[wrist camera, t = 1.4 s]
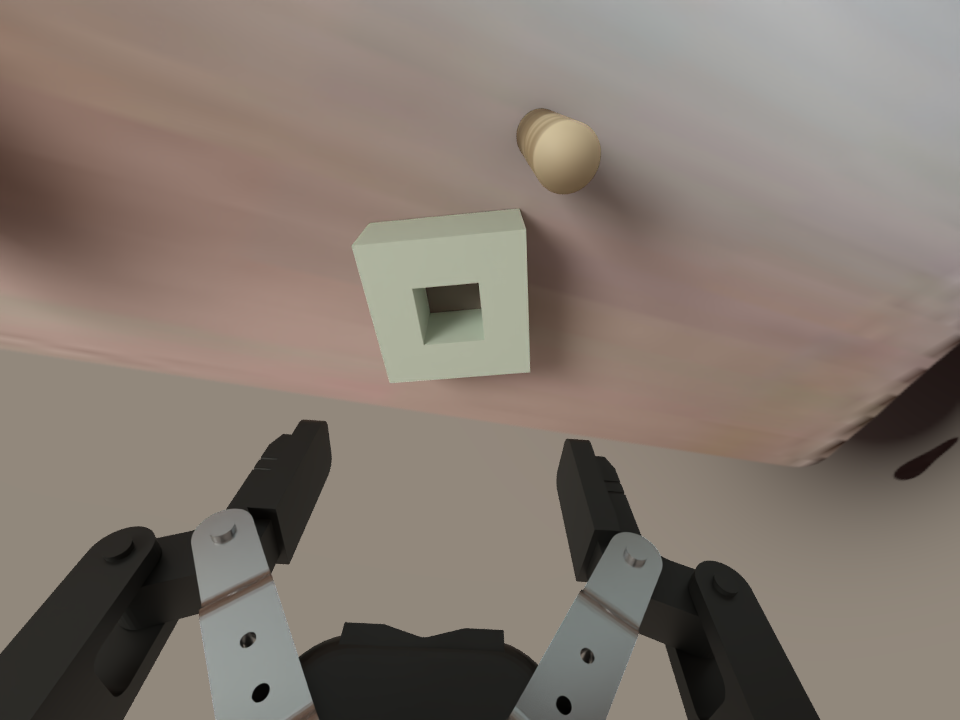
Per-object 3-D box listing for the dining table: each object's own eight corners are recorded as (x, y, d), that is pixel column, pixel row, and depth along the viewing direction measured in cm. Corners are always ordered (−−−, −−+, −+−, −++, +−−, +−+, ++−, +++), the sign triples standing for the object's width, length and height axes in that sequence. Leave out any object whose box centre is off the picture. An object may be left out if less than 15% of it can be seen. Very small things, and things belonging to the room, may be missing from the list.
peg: (515, 111, 26) (533, 124, 17) (562, 105, 26) (603, 117, 17) (517, 162, 27) (534, 197, 19) (561, 158, 27) (598, 190, 19)
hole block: (369, 223, 30) (351, 245, 26) (519, 208, 29) (525, 229, 25) (399, 348, 36) (389, 383, 32) (524, 338, 35) (530, 372, 31)
